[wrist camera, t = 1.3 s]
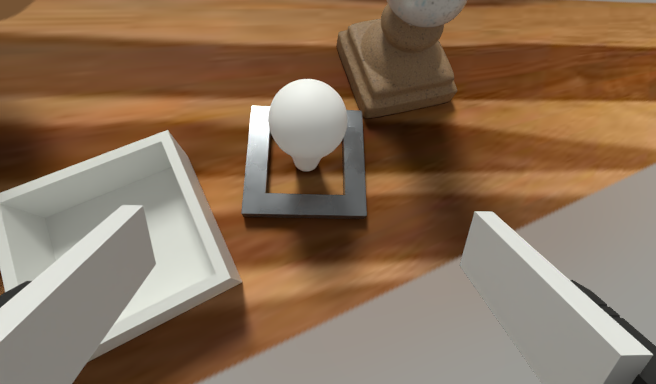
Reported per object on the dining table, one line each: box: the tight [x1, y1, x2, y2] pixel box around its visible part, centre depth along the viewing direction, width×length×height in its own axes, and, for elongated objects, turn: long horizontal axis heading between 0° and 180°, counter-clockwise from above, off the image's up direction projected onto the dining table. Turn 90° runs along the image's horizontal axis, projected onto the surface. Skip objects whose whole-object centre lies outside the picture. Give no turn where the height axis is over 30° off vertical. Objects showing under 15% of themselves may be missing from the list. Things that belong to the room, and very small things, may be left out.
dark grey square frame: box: [242, 106, 367, 219], centre depth 31 cm, size 12×12×1 cm
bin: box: [0, 130, 242, 362], centre depth 25 cm, size 14×14×5 cm
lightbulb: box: [268, 79, 348, 171], centre depth 27 cm, size 6×6×11 cm
